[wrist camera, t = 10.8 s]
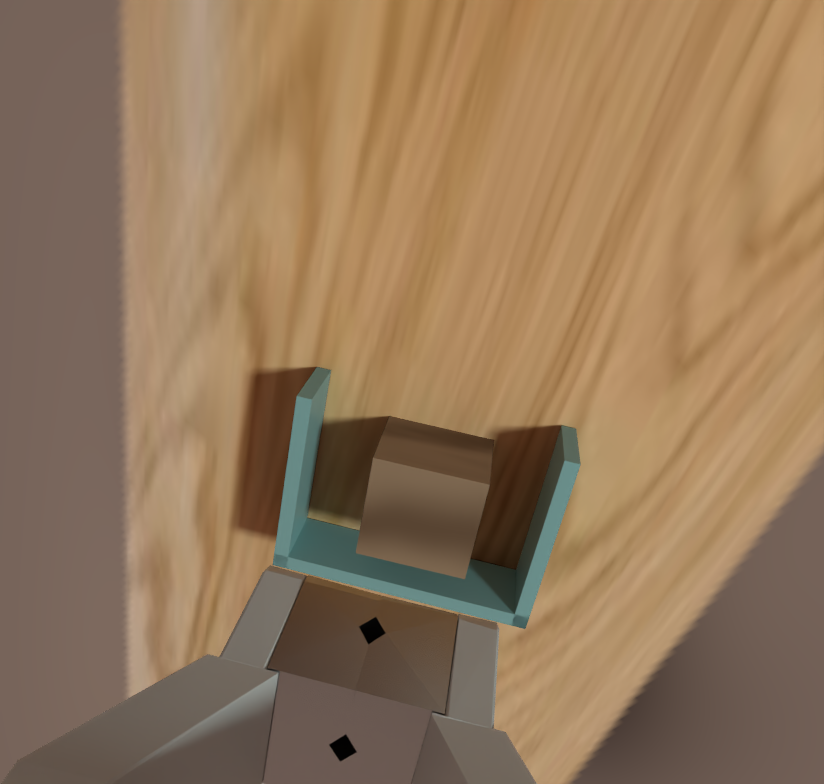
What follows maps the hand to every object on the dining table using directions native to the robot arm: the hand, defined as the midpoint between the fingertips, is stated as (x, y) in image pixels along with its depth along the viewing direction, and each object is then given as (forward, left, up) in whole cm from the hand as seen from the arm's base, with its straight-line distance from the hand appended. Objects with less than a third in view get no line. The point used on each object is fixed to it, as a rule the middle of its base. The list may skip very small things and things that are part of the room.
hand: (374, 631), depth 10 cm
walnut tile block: (+15, 0, -30) cm, 34 cm away
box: (+16, 0, -30) cm, 34 cm away
